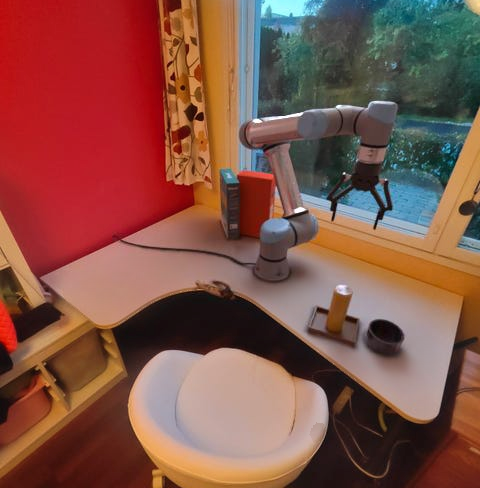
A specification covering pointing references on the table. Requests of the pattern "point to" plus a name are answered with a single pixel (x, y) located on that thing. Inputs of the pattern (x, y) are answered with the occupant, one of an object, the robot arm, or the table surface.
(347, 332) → the tray
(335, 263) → the table surface
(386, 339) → the bowl
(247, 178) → the file binder
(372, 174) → the robot arm
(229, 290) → the bone fish hook
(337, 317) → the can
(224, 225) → the cake mix box
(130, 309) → the table surface
